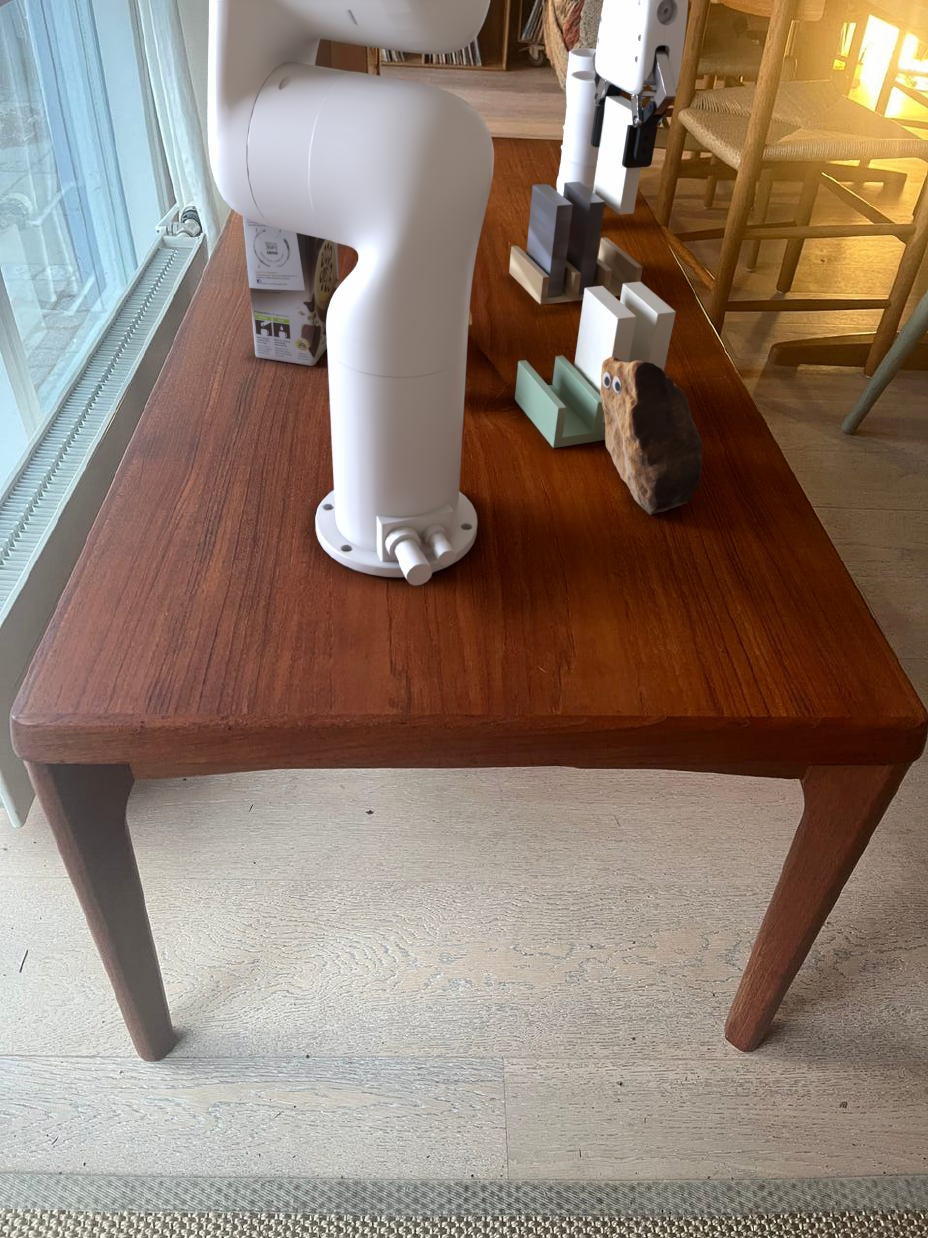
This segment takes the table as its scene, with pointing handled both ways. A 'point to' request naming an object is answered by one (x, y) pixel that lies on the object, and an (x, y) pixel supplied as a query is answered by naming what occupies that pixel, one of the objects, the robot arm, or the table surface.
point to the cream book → (616, 159)
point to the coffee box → (289, 291)
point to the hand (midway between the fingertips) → (620, 154)
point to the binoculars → (579, 122)
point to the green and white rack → (595, 362)
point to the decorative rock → (650, 434)
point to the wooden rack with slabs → (569, 248)
